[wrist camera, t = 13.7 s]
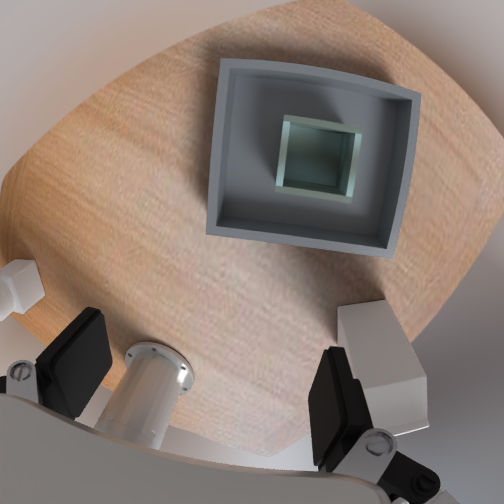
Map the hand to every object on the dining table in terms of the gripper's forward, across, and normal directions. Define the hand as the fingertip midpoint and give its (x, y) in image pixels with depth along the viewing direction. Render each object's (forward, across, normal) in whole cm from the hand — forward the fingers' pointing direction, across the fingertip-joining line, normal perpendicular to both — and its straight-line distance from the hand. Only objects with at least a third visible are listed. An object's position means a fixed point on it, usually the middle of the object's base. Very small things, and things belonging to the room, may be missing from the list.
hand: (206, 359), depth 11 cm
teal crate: (+23, -6, -8) cm, 25 cm away
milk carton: (+25, -17, +12) cm, 32 cm away
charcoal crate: (+24, -6, -8) cm, 26 cm away
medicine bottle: (+26, +40, +15) cm, 50 cm away
